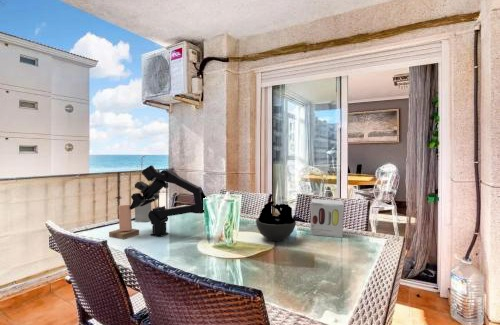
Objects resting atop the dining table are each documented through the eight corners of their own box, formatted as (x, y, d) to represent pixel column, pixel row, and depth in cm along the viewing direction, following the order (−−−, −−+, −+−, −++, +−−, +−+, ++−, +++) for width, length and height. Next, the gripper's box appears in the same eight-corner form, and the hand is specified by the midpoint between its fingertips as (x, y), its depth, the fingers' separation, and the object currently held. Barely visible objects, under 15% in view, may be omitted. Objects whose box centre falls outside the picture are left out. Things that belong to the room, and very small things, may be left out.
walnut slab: (139, 235, 147) (139, 229, 147) (123, 240, 138) (123, 234, 138) (125, 233, 151) (125, 227, 151) (109, 237, 142) (109, 231, 142)
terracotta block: (131, 228, 148) (130, 203, 148) (130, 230, 143) (128, 204, 143) (121, 229, 147) (120, 204, 147) (119, 231, 142) (118, 205, 142)
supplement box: (310, 235, 152) (310, 202, 152) (310, 229, 165) (311, 198, 165) (343, 237, 148) (344, 203, 148) (341, 231, 161) (342, 200, 161)
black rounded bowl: (294, 247, 130) (295, 207, 130) (252, 244, 134) (252, 205, 134) (296, 236, 150) (296, 201, 149) (259, 233, 154) (259, 199, 153)
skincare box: (151, 219, 180) (152, 195, 180) (146, 222, 173) (147, 196, 173) (139, 219, 181) (139, 194, 181) (133, 221, 174) (133, 196, 174)
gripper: (154, 175, 158) (136, 194, 160) (134, 177, 139) (114, 198, 142) (167, 190, 156) (148, 208, 159) (149, 194, 138) (128, 215, 140)
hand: (135, 207), depth 150 cm, fingers open, 9 cm apart
